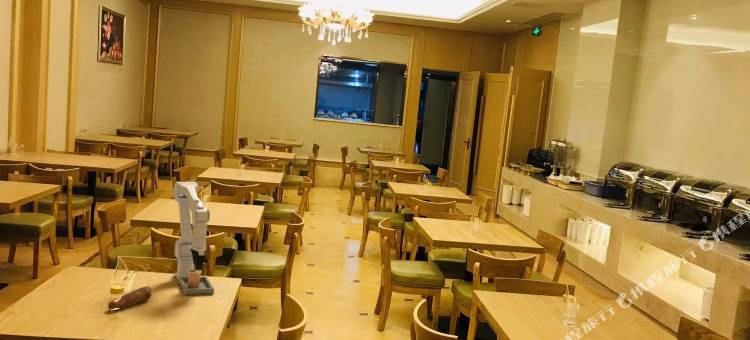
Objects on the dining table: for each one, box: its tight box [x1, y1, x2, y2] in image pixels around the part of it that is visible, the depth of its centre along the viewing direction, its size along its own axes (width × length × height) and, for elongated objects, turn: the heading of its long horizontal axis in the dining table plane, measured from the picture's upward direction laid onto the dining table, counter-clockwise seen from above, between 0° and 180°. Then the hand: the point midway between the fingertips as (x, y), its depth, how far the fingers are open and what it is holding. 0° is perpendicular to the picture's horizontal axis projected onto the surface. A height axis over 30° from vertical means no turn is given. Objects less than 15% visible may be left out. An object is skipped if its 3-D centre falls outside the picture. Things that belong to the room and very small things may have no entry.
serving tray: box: [178, 275, 215, 296], centre depth 277 cm, size 18×12×2 cm, turn 25°
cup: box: [188, 269, 202, 289], centre depth 276 cm, size 5×5×7 cm
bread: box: [107, 286, 152, 311], centre depth 249 cm, size 6×19×6 cm, turn 155°
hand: (197, 267), depth 276 cm, fingers open, 7 cm apart
